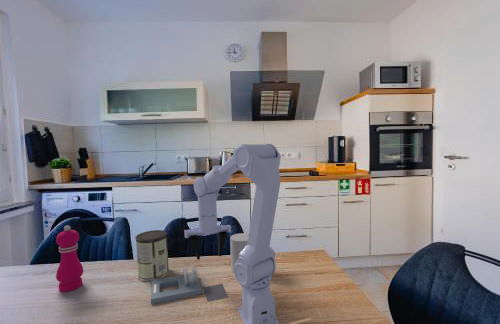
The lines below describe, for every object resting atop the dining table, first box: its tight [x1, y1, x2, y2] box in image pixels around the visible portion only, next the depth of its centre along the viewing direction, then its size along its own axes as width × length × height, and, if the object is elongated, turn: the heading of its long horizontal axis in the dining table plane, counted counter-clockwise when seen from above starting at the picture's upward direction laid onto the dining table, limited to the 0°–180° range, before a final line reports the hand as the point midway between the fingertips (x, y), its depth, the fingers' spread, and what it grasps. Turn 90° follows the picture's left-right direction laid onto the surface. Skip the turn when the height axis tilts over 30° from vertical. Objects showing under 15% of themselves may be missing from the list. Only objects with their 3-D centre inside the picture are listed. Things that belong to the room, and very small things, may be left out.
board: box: [150, 274, 202, 305], centre depth 79 cm, size 11×14×2 cm
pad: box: [203, 283, 229, 303], centre depth 77 cm, size 8×6×1 cm
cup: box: [229, 232, 249, 275], centre depth 91 cm, size 8×8×12 cm
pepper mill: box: [55, 225, 84, 293], centre depth 83 cm, size 7×7×20 cm
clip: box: [183, 266, 199, 286], centre depth 80 cm, size 4×4×4 cm
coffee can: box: [134, 229, 170, 282], centre depth 90 cm, size 10×10×14 cm
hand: (209, 256), depth 82 cm, fingers open, 6 cm apart
